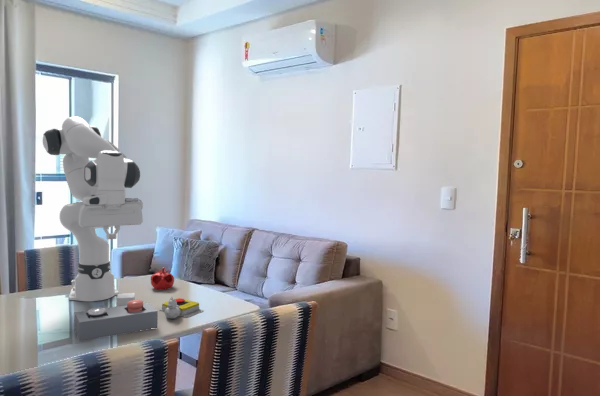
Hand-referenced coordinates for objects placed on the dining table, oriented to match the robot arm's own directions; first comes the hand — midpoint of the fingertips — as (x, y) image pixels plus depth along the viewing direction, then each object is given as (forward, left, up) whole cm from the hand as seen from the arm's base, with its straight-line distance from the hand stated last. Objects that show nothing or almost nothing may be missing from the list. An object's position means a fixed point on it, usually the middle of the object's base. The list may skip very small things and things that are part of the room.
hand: (111, 238), depth 161 cm
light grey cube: (-10, +7, -29) cm, 32 cm away
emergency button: (-2, +25, -30) cm, 39 cm away
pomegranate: (-35, +28, -29) cm, 54 cm away
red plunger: (+8, +6, -26) cm, 28 cm away
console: (+8, 0, -29) cm, 30 cm away
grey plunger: (+8, -6, -27) cm, 29 cm away
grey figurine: (+5, +20, -29) cm, 36 cm away
